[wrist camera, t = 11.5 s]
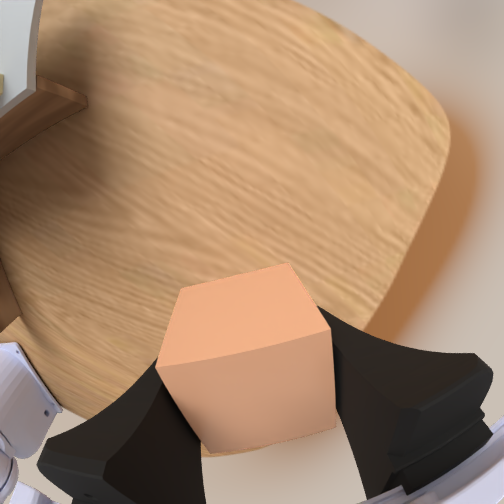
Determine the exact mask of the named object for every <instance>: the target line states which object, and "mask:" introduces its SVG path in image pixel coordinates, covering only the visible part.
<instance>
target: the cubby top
mask: <svg viewBox="0 0 504 504" xmlns="http://www.w3.org/2000/svg"><path fill="white" fill-rule="evenodd" d="M42 3H43V0H0V118H1V117H2V116H3V115H5V114H6V113H7V112H8V111H10V110H11V109H12V108H13V107H15V106H16V105H17V104H19V103H20V102H21V101H23V100H24V99H25V98H27V97H28V96H30V95H31V94H33V93H34V92H36V53H37V40H38V30H39V22H40V15H41V9H42Z"/></svg>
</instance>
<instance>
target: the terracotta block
mask: <svg viewBox="0 0 504 504" xmlns="http://www.w3.org/2000/svg"><path fill="white" fill-rule="evenodd" d="M155 368H156V370H157V372H158V374H159V375H160V377H161V379H162V381H163V382H164V384H165V386H166V388H167V389H168V391H169V393H170V394H171V396H172V398H173V399H174V401H175V403H176V404H177V406H178V407H179V409H180V411H181V412H182V414H183V415H184V417H185V418H186V420H187V421H188V423H189V424H190V426H191V427H192V429H193V430H194V432H195V433H196V435H197V436H198V437H199V439H200V440H201V442H202V443H203V444H204V446H205V447H206V449H207V450H208V451H209V453H210V454H212V453H222V452H230V451H237V450H244V449H250V448H256V447H261V446H266V445H271V444H276V443H280V442H285V441H289V440H293V439H297V438H301V437H304V436H309V435H312V434H315V433H319V432H322V431H325V430H329V429H332V428H335V427H336V402H335V380H334V363H333V349H332V337H331V328H330V327H329V325H328V324H327V322H326V321H325V319H324V317H323V316H322V314H321V313H320V311H319V309H318V308H317V306H316V305H315V303H314V302H313V300H312V298H311V297H310V295H309V294H308V292H307V291H306V289H305V288H304V286H303V284H302V283H301V281H300V280H299V278H298V277H297V275H296V274H295V272H294V271H293V269H292V268H291V266H290V264H289V263H284V264H280V265H276V266H272V267H268V268H264V269H260V270H256V271H252V272H248V273H244V274H239V275H235V276H231V277H227V278H223V279H219V280H214V281H210V282H206V283H202V284H197V285H193V286H189V287H185V288H181V290H180V293H179V296H178V299H177V301H176V304H175V307H174V310H173V313H172V316H171V319H170V322H169V325H168V328H167V331H166V334H165V337H164V340H163V344H162V347H161V350H160V353H159V356H158V360H157V363H156V366H155Z"/></svg>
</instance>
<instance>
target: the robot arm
mask: <svg viewBox="0 0 504 504" xmlns="http://www.w3.org/2000/svg"><path fill="white" fill-rule="evenodd" d="M317 308H318V309H319V311H320V313H321V314H322V316H323V317H324V319H325V321H326V322H327V324H328V325H329V327H330V328H331V337H332V349H333V363H334V380H335V402H336V409H337V412H338V414H339V416H340V419H341V421H342V424H343V427H344V429H345V432H346V434H347V438H348V440H349V443H350V446H351V449H352V451H353V455H354V458H355V461H356V464H357V467H358V470H359V473H360V477H361V480H362V484H363V487H364V491H365V494H366V498H367V500H366V501H363V502H361V503H358V504H497V503H498V502H499V501H500V500H501V499H502V498H503V497H504V415H503V416H502V417H501V418H500V419H499V420H498V421H497V422H496V423H494V424H493V425H492V426H491V427H490V428H488V426H487V425H486V424H485V423H484V422H483V420H482V419H483V418H484V416H485V413H484V412H483V411H482V410H481V409H480V406H481V404H482V403H483V401H484V399H485V397H486V395H487V393H488V391H489V389H490V386H491V383H492V379H493V371H492V369H491V368H490V367H489V366H488V365H487V364H486V363H485V362H484V361H482V360H481V359H480V358H479V357H478V356H477V355H476V354H475V353H441V352H431V351H424V350H418V349H414V348H409V347H405V346H401V345H397V344H393V343H391V342H388V341H385V340H382V339H379V338H376V337H374V336H371V335H369V334H367V333H365V332H363V331H361V330H358V329H356V328H354V327H352V326H351V325H349V324H347V323H345V322H343V321H342V320H340V319H338V318H337V317H335V316H333V315H332V314H330V313H329V312H327V311H325V310H324V309H322V308H320V307H319V306H317ZM157 360H158V357H157V359H156V360H155V361H154V362H153V363H152V365H151V366H150V367H149V368H148V369H147V370H146V371H145V373H144V374H143V375H142V376H141V377H140V378H139V379H138V380H137V381H136V382H135V383H134V384H133V385H132V386H131V387H130V388H129V389H128V390H127V391H126V392H125V393H124V394H123V395H122V396H120V397H119V398H118V399H117V400H116V401H115V402H113V403H112V404H111V405H109V406H108V407H107V408H105V409H104V410H102V411H101V412H100V413H98V414H97V415H95V416H94V417H92V418H91V419H89V420H87V421H86V422H84V423H82V424H80V425H78V426H76V427H74V428H73V429H70V430H68V431H66V432H63V433H61V434H59V435H56V436H54V437H51V438H48V439H47V441H46V444H45V446H44V448H43V450H42V453H41V455H40V458H39V460H38V462H37V467H38V469H39V471H40V472H41V473H42V474H43V475H44V476H45V477H46V478H47V479H48V480H49V481H51V482H52V483H53V484H54V485H56V486H57V487H58V488H60V489H61V490H63V491H64V492H65V493H67V494H68V495H70V496H71V497H73V500H72V504H206V499H205V493H204V485H203V476H202V464H201V440H200V439H199V437H198V436H197V435H196V433H195V432H194V430H193V429H192V427H191V426H190V424H189V423H188V421H187V420H186V418H185V417H184V415H183V414H182V412H181V411H180V409H179V407H178V406H177V404H176V403H175V401H174V399H173V398H172V396H171V394H170V393H169V391H168V389H167V388H166V386H165V384H164V382H163V381H162V379H161V377H160V375H159V374H158V372H157V370H156V368H155V366H156V363H157ZM62 411H63V409H62V408H61V407H60V405H59V404H58V403H57V401H56V400H55V399H54V398H53V396H52V395H51V394H50V392H49V391H48V389H47V388H46V387H45V385H44V384H43V382H42V381H41V379H40V378H39V377H38V375H37V374H36V372H35V370H34V369H33V367H32V366H31V364H30V363H29V361H28V359H27V358H26V356H25V354H24V353H23V351H22V349H21V348H20V346H19V344H18V343H16V342H12V343H0V504H3V503H4V501H5V499H6V498H7V496H8V495H10V494H11V492H12V491H13V489H14V487H15V485H16V487H15V490H14V492H13V495H12V497H11V500H10V503H9V504H60V503H57V502H55V501H52V500H50V498H48V497H47V496H46V495H44V494H43V493H41V492H40V491H38V490H37V489H35V488H32V487H31V486H29V485H26V484H24V483H22V482H20V481H18V482H17V479H18V473H19V470H18V465H17V461H16V459H15V458H14V457H13V456H15V457H17V458H21V459H25V458H29V457H30V456H32V455H33V454H34V453H35V452H36V451H37V450H38V449H39V447H40V446H41V444H42V442H43V440H44V438H45V435H46V433H47V431H48V429H49V427H50V425H51V423H52V421H53V419H54V417H55V415H56V414H57V413H62ZM16 483H17V484H16Z"/></svg>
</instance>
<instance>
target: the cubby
mask: <svg viewBox="0 0 504 504" xmlns="http://www.w3.org/2000/svg"><path fill="white" fill-rule="evenodd" d="M86 107H88V104H87V96H84V95H82V94H80V93H78V92H76V91H74V90H71V89H69V88H67V87H65V86H62V85H60V84H58V83H55V82H53V81H51V80H48V79H46V78H43V77H41V76H39V75H36V92H34V93H33V94H31V95H30V96H28V97H27V98H25V99H24V100H23V101H21V102H20V103H19V104H17V105H16V106H15V107H13V108H12V109H11V110H10V111H8V112H7V113H6V114H5V115H3V116H2V117H1V118H0V160H1V159H3V158H4V157H5V156H7V155H8V154H9V153H11V152H12V151H14V150H15V149H16V148H18V147H19V146H21V145H22V144H24V143H25V142H27V141H28V140H30V139H31V138H33V137H34V136H36V135H37V134H39V133H41V132H42V131H44V130H45V129H47V128H49V127H51V126H52V125H54V124H56V123H57V122H59V121H61V120H63V119H65V118H66V117H68V116H70V115H72V114H74V113H76V112H78V111H80V110H82V109H84V108H86ZM21 313H22V312H21V310H20V308H19V306H18V304H17V301H16V299H15V297H14V294H13V292H12V290H11V287H10V285H9V282H8V279H7V277H6V274H5V271H4V269H3V266H2V263H1V260H0V333H1V332H2V331H3V330H4V329H5V328H6V327H7V326H8V325H9V324H10V323H12V322H13V321H14V320H15V319H16V318H17V317H18V316H19V315H20V314H21Z"/></svg>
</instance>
